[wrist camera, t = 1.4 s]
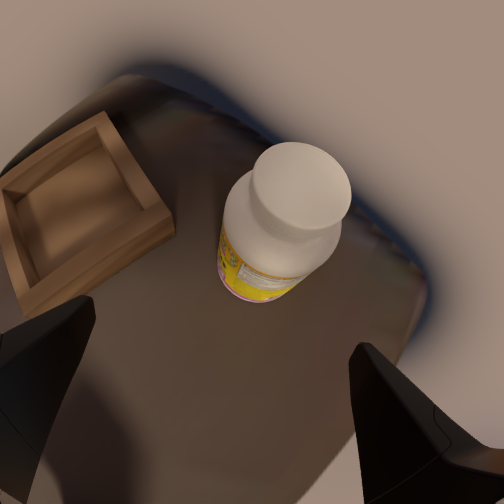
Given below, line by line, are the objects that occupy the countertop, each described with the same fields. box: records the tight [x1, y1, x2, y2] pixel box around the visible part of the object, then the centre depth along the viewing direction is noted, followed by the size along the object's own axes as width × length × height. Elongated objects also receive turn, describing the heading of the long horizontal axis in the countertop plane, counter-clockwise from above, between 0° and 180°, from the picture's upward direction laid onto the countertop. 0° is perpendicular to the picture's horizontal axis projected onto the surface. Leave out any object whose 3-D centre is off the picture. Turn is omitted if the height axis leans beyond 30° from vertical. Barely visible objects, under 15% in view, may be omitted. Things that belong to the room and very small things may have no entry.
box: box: [0, 111, 176, 318], centre depth 22 cm, size 14×14×4 cm
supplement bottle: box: [217, 142, 351, 302], centre depth 19 cm, size 7×7×13 cm
